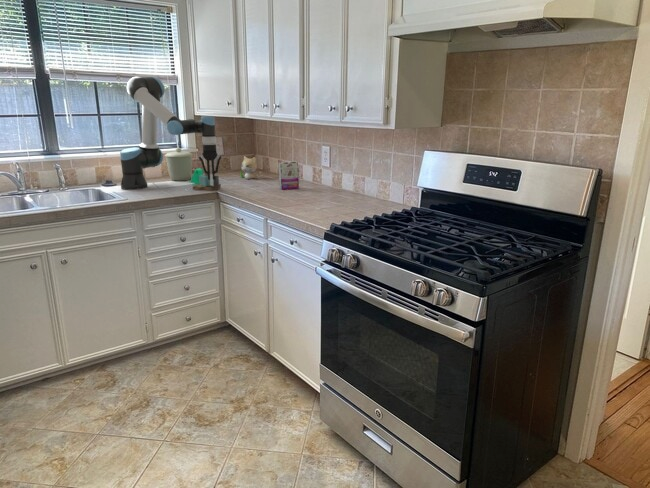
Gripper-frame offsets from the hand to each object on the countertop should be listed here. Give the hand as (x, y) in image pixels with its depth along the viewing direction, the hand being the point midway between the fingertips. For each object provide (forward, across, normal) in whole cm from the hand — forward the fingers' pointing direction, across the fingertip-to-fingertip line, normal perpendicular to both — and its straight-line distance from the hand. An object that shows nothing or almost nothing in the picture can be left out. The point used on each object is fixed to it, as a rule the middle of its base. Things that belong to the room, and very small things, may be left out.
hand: (211, 185), depth 282 cm
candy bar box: (+4, +46, -2) cm, 46 cm away
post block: (+4, -2, +10) cm, 11 cm away
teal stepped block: (+1, 0, +7) cm, 7 cm away
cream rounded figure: (+3, +27, +40) cm, 49 cm away
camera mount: (+4, -4, +27) cm, 28 cm away
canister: (+4, -17, +48) cm, 51 cm away
